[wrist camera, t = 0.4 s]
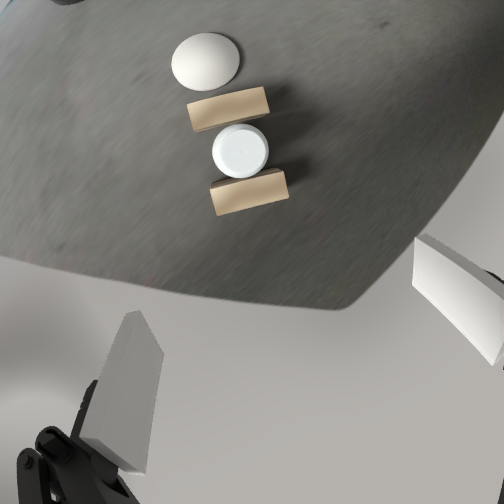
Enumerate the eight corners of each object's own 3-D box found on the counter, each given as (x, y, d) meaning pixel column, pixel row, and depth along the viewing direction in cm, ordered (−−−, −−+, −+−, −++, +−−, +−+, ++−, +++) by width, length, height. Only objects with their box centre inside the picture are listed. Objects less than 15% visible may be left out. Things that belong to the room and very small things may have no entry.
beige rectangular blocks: (191, 109, 29) (186, 104, 24) (257, 93, 29) (262, 86, 25) (217, 206, 34) (217, 216, 29) (280, 190, 34) (289, 197, 29)
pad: (167, 44, 25) (166, 43, 24) (230, 28, 25) (231, 27, 24) (180, 99, 28) (179, 98, 27) (245, 82, 28) (246, 81, 27)
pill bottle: (257, 125, 30) (271, 118, 21) (261, 168, 32) (277, 178, 23) (211, 130, 30) (207, 124, 21) (217, 174, 32) (215, 186, 23)
